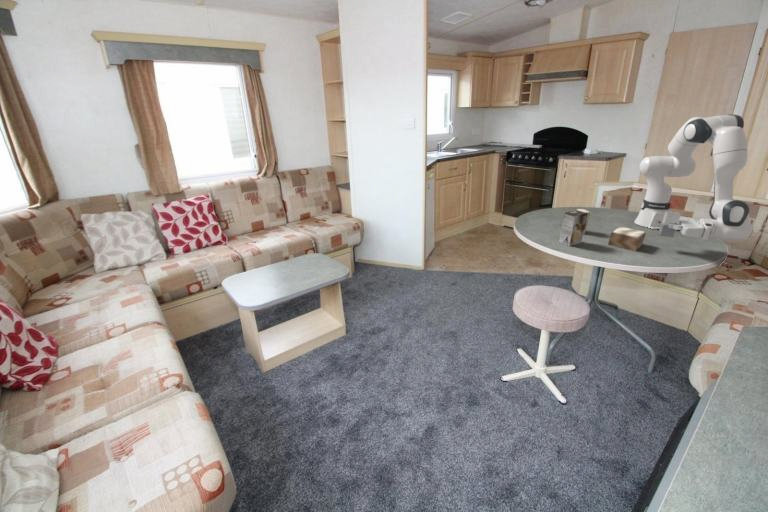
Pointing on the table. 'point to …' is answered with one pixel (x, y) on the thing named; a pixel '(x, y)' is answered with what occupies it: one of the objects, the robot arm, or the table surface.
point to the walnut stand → (627, 238)
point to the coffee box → (573, 227)
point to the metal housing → (669, 218)
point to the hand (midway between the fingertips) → (667, 223)
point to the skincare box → (587, 217)
